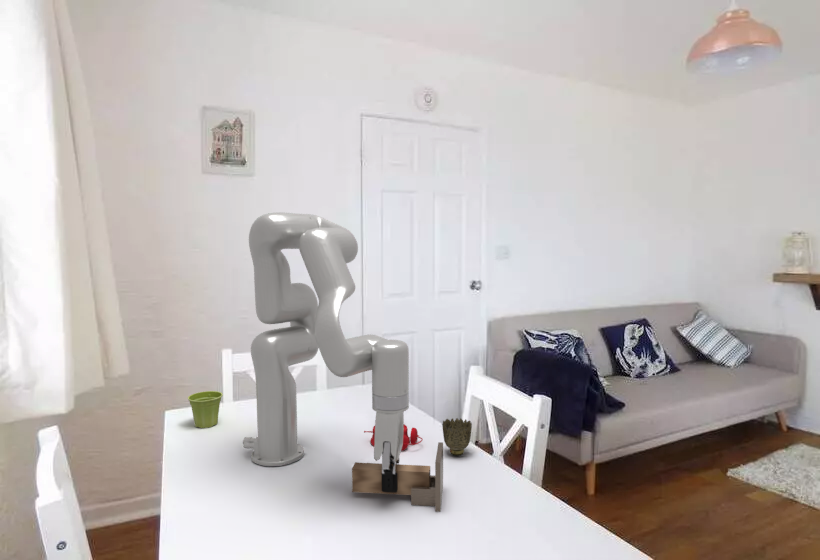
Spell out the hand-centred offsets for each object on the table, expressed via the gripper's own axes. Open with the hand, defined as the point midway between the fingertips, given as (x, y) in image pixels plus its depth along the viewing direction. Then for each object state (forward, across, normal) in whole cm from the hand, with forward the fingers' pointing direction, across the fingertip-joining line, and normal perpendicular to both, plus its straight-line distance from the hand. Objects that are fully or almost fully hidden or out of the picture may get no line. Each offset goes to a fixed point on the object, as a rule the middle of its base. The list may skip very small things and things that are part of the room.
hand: (391, 486), depth 107 cm
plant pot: (+3, -36, -60) cm, 70 cm away
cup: (+2, -23, +13) cm, 27 cm away
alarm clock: (+3, -28, -3) cm, 29 cm away
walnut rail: (+1, 0, 0) cm, 1 cm away
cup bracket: (+2, 0, +7) cm, 7 cm away
